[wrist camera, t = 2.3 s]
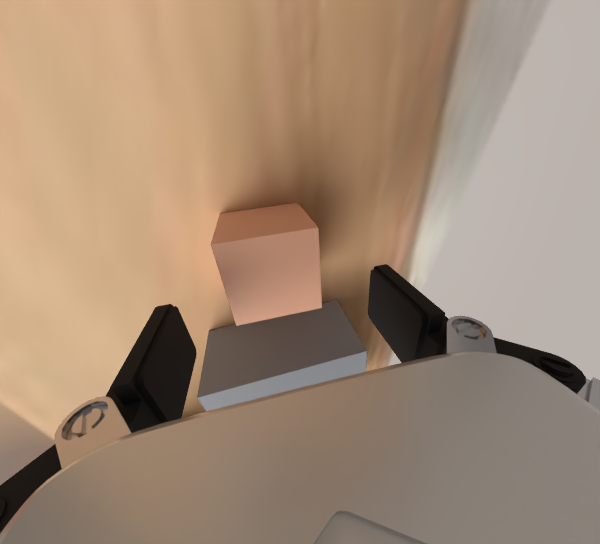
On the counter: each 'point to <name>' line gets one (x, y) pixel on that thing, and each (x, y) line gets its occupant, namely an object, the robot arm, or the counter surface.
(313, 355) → the grey block
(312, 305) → the terracotta cube
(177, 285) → the counter surface
